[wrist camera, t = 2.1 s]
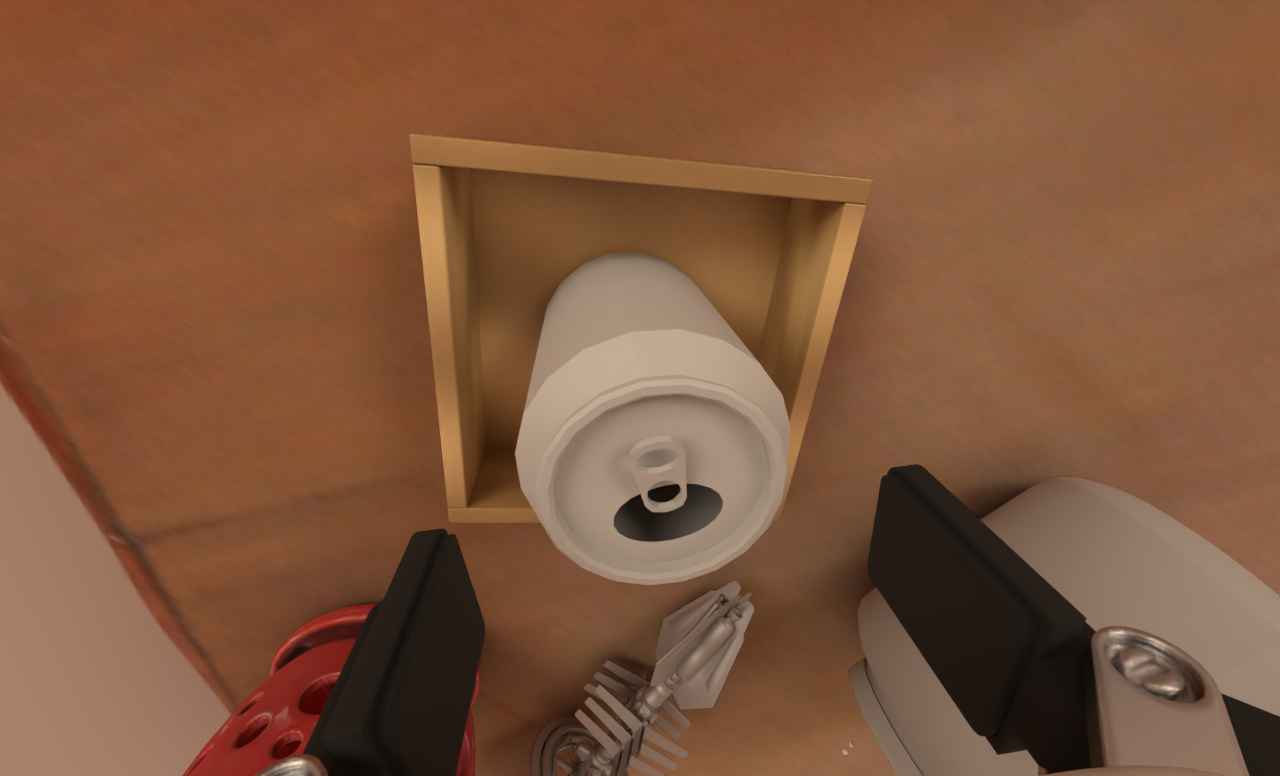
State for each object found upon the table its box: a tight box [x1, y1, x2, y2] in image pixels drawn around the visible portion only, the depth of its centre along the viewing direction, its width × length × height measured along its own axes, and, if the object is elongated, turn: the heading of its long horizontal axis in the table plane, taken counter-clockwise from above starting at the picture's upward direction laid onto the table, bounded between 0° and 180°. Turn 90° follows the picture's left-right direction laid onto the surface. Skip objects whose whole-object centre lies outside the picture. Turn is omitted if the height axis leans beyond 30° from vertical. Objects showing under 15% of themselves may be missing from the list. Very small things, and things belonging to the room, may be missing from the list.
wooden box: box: [409, 134, 873, 523], centre depth 21 cm, size 15×15×5 cm
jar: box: [842, 477, 1280, 776], centre depth 27 cm, size 19×15×25 cm
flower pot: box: [183, 604, 480, 776], centre depth 25 cm, size 13×13×12 cm
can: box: [515, 252, 791, 585], centre depth 17 cm, size 8×8×12 cm
